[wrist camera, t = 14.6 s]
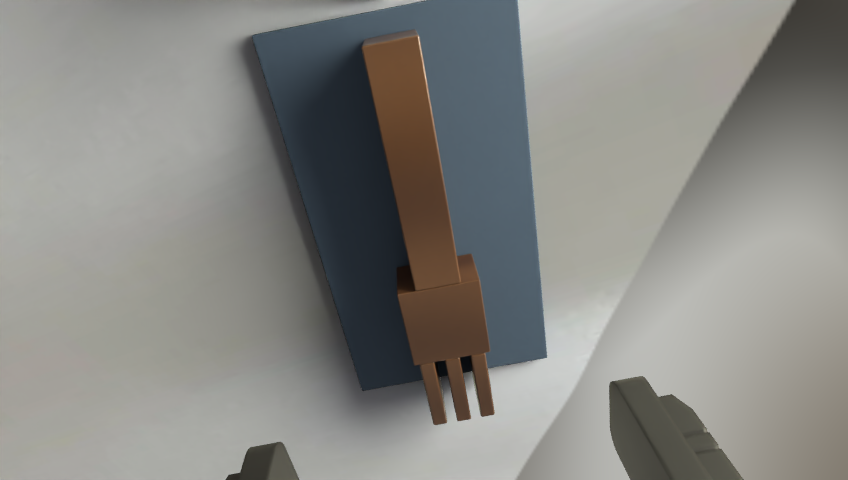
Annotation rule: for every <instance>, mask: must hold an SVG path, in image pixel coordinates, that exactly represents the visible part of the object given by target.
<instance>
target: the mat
mask: <svg viewBox="0 0 848 480" xmlns="http://www.w3.org/2000/svg"><path fill="white" fill-rule="evenodd" d="M413 29H415V30H416V32H417V33H418V35H419V37H420V43H421V49H422V55H423V61H424V67H425V72H426V78H427V84H428V90H429V96H430V102H431V108H432V114H433V119H434V125H435V131H436V137H437V143H438V149H439V155H440V161H441V167H442V172H443V178H444V184H445V190H446V196H447V202H448V208H449V214H450V219H451V225H452V231H453V237H454V243H455V249H456V255H457V256H461V255H466V254H472V256H473V259H474V263H475V266H476V269H477V272H478V276H479V279H480V284H481V291H482V298H483V304H484V311H485V318H486V324H487V331H488V338H489V344H490V352H487V353H485V355H486V361H487V367H488V368H493V367H498V366H504V365H509V364H515V363H520V362H526V361H532V360H537V359H543V358H547V351H546V339H545V327H544V314H543V302H542V290H541V278H540V266H539V254H538V242H537V230H536V218H535V206H534V193H533V181H532V169H531V157H530V145H529V133H528V121H527V109H526V97H525V84H524V72H523V60H522V48H521V36H520V24H519V12H518V0H426V1H421V2H416V3H411V4H406V5H401V6H396V7H391V8H386V9H381V10H376V11H371V12H366V13H361V14H356V15H351V16H346V17H341V18H336V19H331V20H326V21H321V22H316V23H310V24H305V25H300V26H295V27H290V28H285V29H280V30H275V31H270V32H265V33H260V34H255V35H253V36H252V39H253V42H254V46H255V49H256V52H257V55H258V58H259V62H260V65H261V68H262V71H263V74H264V78H265V81H266V84H267V87H268V90H269V94H270V97H271V100H272V103H273V106H274V110H275V113H276V116H277V119H278V122H279V126H280V129H281V132H282V135H283V138H284V142H285V145H286V148H287V151H288V154H289V158H290V161H291V164H292V167H293V170H294V174H295V177H296V180H297V183H298V186H299V190H300V193H301V196H302V199H303V202H304V206H305V209H306V212H307V215H308V218H309V222H310V225H311V228H312V231H313V234H314V238H315V241H316V244H317V247H318V250H319V254H320V257H321V260H322V263H323V266H324V270H325V273H326V276H327V279H328V282H329V286H330V289H331V292H332V295H333V298H334V302H335V305H336V308H337V311H338V314H339V318H340V321H341V324H342V327H343V330H344V334H345V337H346V340H347V343H348V346H349V350H350V353H351V356H352V359H353V362H354V366H355V369H356V372H357V375H358V378H359V382H360V385H361V388H362V391H365V390H370V389H376V388H381V387H387V386H393V385H398V384H404V383H409V382H415V381H420V380H423V378H422V374H421V369H420V365H414V363H413V359H412V355H411V351H410V347H409V343H408V339H407V335H406V330H405V326H404V322H403V318H402V314H401V310H400V306H399V302H398V298H397V276H396V268H397V267H402V266H407V265H409V261H408V257H407V252H406V248H405V243H404V238H403V234H402V229H401V225H400V220H399V216H398V211H397V207H396V202H395V198H394V193H393V189H392V184H391V180H390V175H389V171H388V166H387V162H386V157H385V153H384V148H383V144H382V139H381V135H380V130H379V126H378V121H377V117H376V112H375V108H374V103H373V99H372V94H371V90H370V85H369V81H368V76H367V72H366V67H365V63H364V58H363V54H362V49H361V48H362V45H363V42H364V40H365V39H367V38H372V37H377V36H382V35H387V34H392V33H398V32H403V31H408V30H413ZM460 362H461V367H462V372H463V373H465V372H470V371H472V369H471V364H470V358H469V356H465V357H460ZM437 364H438V369H439V374H440V377H443V376H448V373H447V368H446V363H445V360H443V361H437Z"/></svg>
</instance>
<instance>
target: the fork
mask: <svg viewBox="0 0 848 480" xmlns="http://www.w3.org/2000/svg"><path fill="white" fill-rule="evenodd" d="M361 49H362V54H363V58H364V63H365V67H366V72H367V76H368V81H369V85H370V90H371V94H372V99H373V103H374V108H375V112H376V117H377V121H378V126H379V130H380V135H381V139H382V144H383V148H384V153H385V157H386V162H387V166H388V171H389V175H390V180H391V184H392V189H393V193H394V198H395V202H396V207H397V211H398V216H399V220H400V225H401V229H402V234H403V238H404V243H405V248H406V252H407V257H408V261H409V265H407V266H402V267H397V268H396V276H397V298H398V302H399V306H400V310H401V314H402V318H403V322H404V326H405V330H406V335H407V339H408V343H409V347H410V351H411V355H412V359H413V363H414V365H420V369H421V374H422V378H423V382H424V386H425V390H426V395H427V399H428V403H429V407H430V412H431V416H432V420H433V424H434V425H439V424H444V423H447V416H446V409H445V402H444V394H443V388H442V383H441V378H440V374H439V369H438V364H437V361H443V360H445V363H446V368H447V373H448V378H449V383H450V388H451V393H452V398H453V402H454V407H455V412H456V417H457V421H462V420H468V419H471V415H470V410H469V405H468V399H467V394H466V388H465V383H464V378H463V372H462V367H461V362H460V357H465V356H469V358H470V364H471V369H472V375H473V381H474V386H475V391H476V395H477V400H478V405H479V410H480V414H481V416H482V417H484V416H489V415H494V413H495V412H494V406H493V399H492V393H491V387H490V380H489V374H488V367H487V361H486V355H485V353H487V352H490V344H489V338H488V331H487V324H486V318H485V311H484V304H483V298H482V291H481V284H480V279H479V276H478V272H477V269H476V266H475V263H474V259H473V256H472V254H466V255H461V256H457V255H456V249H455V243H454V237H453V231H452V225H451V219H450V214H449V208H448V202H447V196H446V190H445V184H444V178H443V172H442V167H441V161H440V155H439V149H438V143H437V137H436V131H435V125H434V119H433V114H432V108H431V102H430V96H429V90H428V84H427V78H426V72H425V67H424V61H423V55H422V49H421V43H420V37H419V35H418V33H417V32H416V30H415V29H413V30H408V31H403V32H398V33H392V34H387V35H382V36H377V37H372V38H367V39H365V40H364V42H363V45H362V48H361Z"/></svg>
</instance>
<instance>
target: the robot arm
mask: <svg viewBox="0 0 848 480" xmlns="http://www.w3.org/2000/svg"><path fill="white" fill-rule="evenodd" d="M609 395H610V396H609V399H610V431H611V436H612V440H613V443H614V446H615V448H616V451H617V453H618V455H619V457H620V459H621V461H622V463H623V465H624V467H625V470H626V472H627V474H628V476H629V478H630V480H743V479H742V477H741V476H740V474H739V473H738V471H737V470H736V469H735V467H734V466H733V465H732V463H731V462H730V460H729V459H728V458H727V456H726V455H725V453H724V452H723V451H722V449H719V447H718V444H717V442H716V441H715V440H714V438H713V437H712V435H711V434H710V433H708V432H707V429H706V427H705V426H704V424H703V423H702V422H701V420H700V419H699V418H698V416H697V415H696V413H695V412H694V411H693V409H691V408H690V407H688V406H687V405H686V404H684V403H683V402H682V401H680V400H679V399H677V398H676V397H675V396H673V395H672V394H671V395H666V396H661V397H658V396H657V395H656V393H655V392H654V390H653V389H652V387H651V386H650V384H649V383H648V381H647V380H646V379H645V378H644V377H643V376H639V377H634V378H628V379H623V380H618V381H612V382H610V386H609ZM226 480H299V478H298V476H297V473H296V471H295V469H294V466H293V464H292V462H291V460H290V457H289V455H288V453H287V450H286V448H285V446H284V444H283V443H282V442H277V443H272V444H266V445H261V446H256V447H250V448H249V449H248V451H247V452H246V455H245V459H244V462H243V465H242V469H241V472H240V473H237V474H231V475H229V476H228V477H227V478H226Z"/></svg>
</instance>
